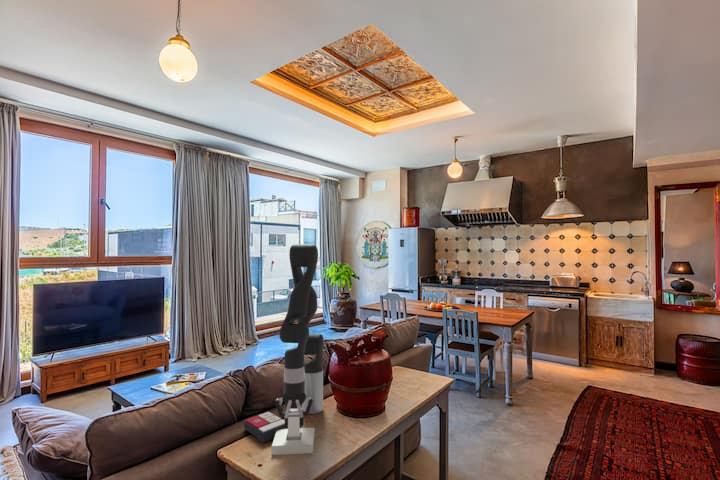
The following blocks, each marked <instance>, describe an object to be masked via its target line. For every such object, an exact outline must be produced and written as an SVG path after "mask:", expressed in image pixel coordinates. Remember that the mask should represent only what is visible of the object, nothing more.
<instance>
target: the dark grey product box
mask: <svg viewBox="0 0 720 480" xmlns="http://www.w3.org/2000/svg"><path fill="white" fill-rule="evenodd" d="M243 425H244V428H243V429H244V430H245V431H247V432H249V433H250V434H252V435H253V436H254V437H256V439H257V440H258V441H260V442H261V443H263V444H264V443H267V442H269V441H271V440H274V437H275V434H276V431H277V430H280V429H287V427H285V419H282V417H280V416H278V415H275V414H274V413H272V412H270V411H266V412H264V413H261V414H258V415H256V416H252V417H249V418H247V419H245V420H244V422H243Z"/></svg>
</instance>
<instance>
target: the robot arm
mask: <svg viewBox="0 0 720 480" xmlns="http://www.w3.org/2000/svg"><path fill="white" fill-rule="evenodd" d="M288 256H289V263H290V269H291V274H292V280H293V281H292V282H293V289H292V290H291V293H290V296H289V302H288V307H287V308H288V309H287V313H286V315H285V317H284V320H283V322H282V324H281V326H280V329H279V333H278V335H279V339H280V341H281V342H282V343H284V344H297V346H296V347H294V348H289V349H287V350H286V351H285V353H284V370H283V395H282V397H277V398H276V399H275V401H274V403H275V407H276V409H277V410H276V411H277V413H278V417H279V418H282V417H283V418H284V421H285V427H287V429H288V412H289V411H290V409H298V412H300V428H303V426H304V423H305V421H304V420H305V418H304V417H307V416H309V415H315V414H319V413H321V412H323V410H324V345H325V344H324V343H325V340H324V336H323V334H322V333H318V332H317V333H312V332H311V333H310V328H309V324H310V322H311V321H312V319H313V318H314V316H315V314H316V313H317V311H318V298H317V297H318V296H317V292H316V290H315V288H314V287H313V286H312V285H313V284H312V283H313V281H314V277H315V273H316V269H317V265H318V261H319V251H318V247H317V245H315V244H303V243H302V244H298V243H297V244H292V245H291V246H290V249H289V255H288ZM302 268H306V270H305V272H304V273H303V270H302ZM295 321H297V322H295ZM305 356H315V357H313V359H309V360H307V361H305ZM283 403H284V404H285V406H286V410H285V411H284V408H283V406H282V404H283Z"/></svg>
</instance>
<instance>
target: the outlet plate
mask: <svg viewBox="0 0 720 480" xmlns="http://www.w3.org/2000/svg"><path fill="white" fill-rule="evenodd" d="M315 432H316V431H315V427H302V428H300V435H299V436H290V437H288V429H280V430H277V431H276V434H275V437H274V439H272V440H273V441H272V444H271V456H280V455H281V456H282V455H300V454H301V455H303V454H314V448H315V445H314V444H315Z"/></svg>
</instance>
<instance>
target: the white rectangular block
mask: <svg viewBox="0 0 720 480" xmlns="http://www.w3.org/2000/svg"><path fill="white" fill-rule="evenodd" d="M299 435H300V412H298V408H292V409H290V411H289V412H288V437H290V436H299Z"/></svg>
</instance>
